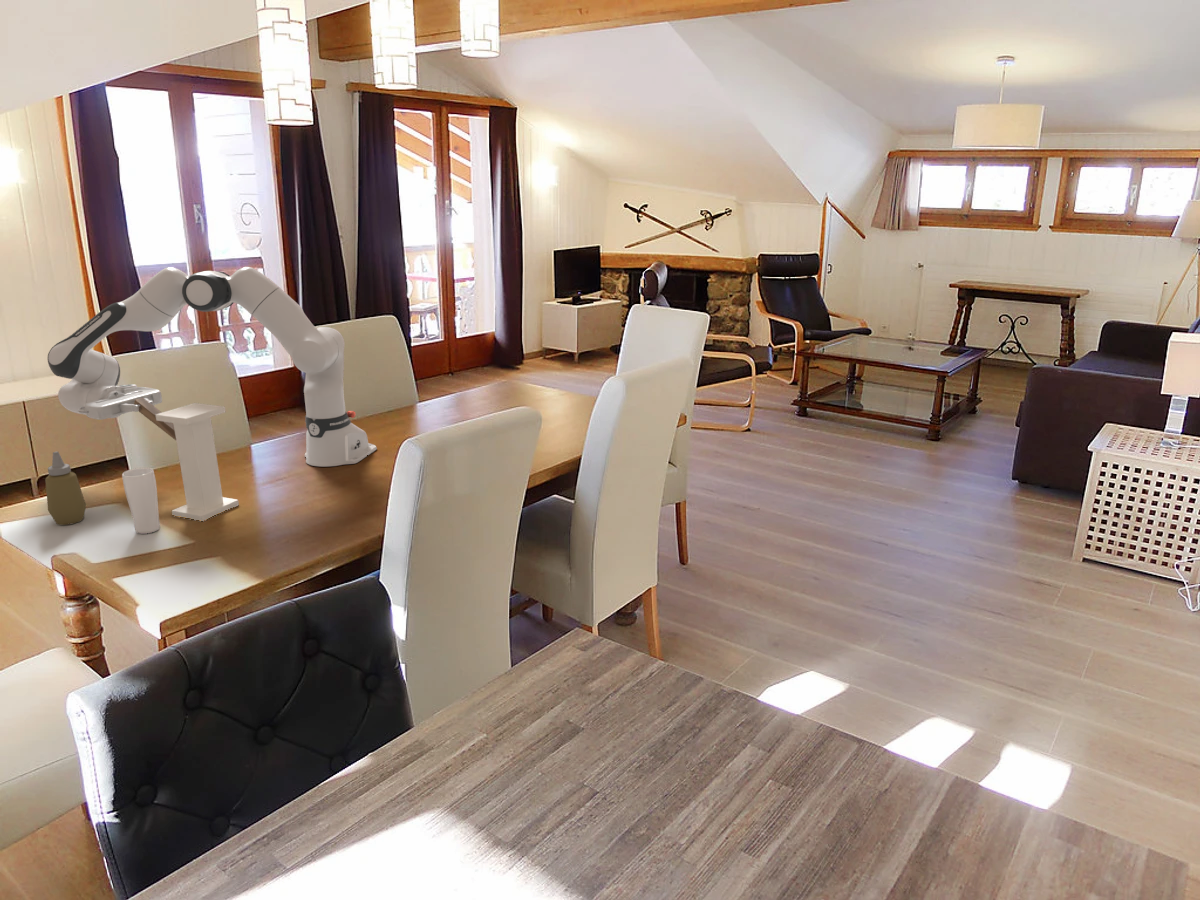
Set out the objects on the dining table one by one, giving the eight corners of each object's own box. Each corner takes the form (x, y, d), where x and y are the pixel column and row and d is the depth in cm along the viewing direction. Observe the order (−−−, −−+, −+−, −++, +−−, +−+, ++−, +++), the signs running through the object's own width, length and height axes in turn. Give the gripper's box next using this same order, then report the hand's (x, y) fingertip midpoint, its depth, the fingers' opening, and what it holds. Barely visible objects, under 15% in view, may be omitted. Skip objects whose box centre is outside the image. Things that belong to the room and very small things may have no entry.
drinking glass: (169, 525, 210) (159, 467, 206) (153, 536, 204) (142, 477, 199) (143, 524, 211) (133, 466, 207) (126, 535, 205) (115, 476, 200)
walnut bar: (140, 404, 234) (142, 397, 233) (199, 450, 231) (202, 443, 230) (133, 406, 232) (134, 399, 231) (192, 453, 229) (194, 446, 228)
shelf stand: (209, 499, 227) (194, 402, 219) (238, 505, 223) (224, 406, 215) (172, 516, 216) (155, 414, 208) (202, 521, 213) (186, 418, 204)
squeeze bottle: (49, 529, 208) (34, 459, 203) (52, 518, 215) (37, 450, 209) (88, 523, 212) (74, 454, 206) (89, 512, 218) (75, 445, 213)
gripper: (71, 399, 227) (109, 404, 222) (137, 382, 245) (174, 386, 240) (76, 422, 229) (114, 427, 224) (141, 404, 247) (177, 408, 242)
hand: (145, 406), depth 232 cm, fingers closed on walnut bar, 2 cm apart
